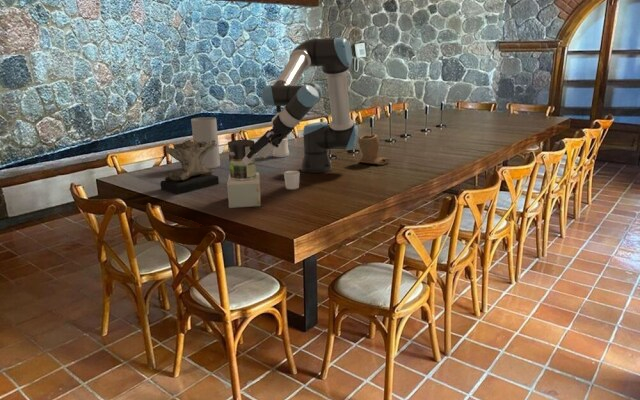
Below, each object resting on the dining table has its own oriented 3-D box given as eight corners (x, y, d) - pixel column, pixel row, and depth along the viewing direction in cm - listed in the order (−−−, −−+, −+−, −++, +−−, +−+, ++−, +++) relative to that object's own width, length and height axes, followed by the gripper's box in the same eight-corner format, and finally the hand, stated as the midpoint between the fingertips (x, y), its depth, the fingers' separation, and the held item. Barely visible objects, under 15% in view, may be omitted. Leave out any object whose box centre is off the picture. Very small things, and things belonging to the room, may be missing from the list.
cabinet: (260, 195, 209) (259, 171, 206) (260, 207, 193) (259, 182, 190) (231, 197, 208) (229, 173, 205) (228, 209, 192) (226, 183, 189)
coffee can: (234, 181, 192) (231, 145, 187) (227, 176, 201) (224, 141, 196) (260, 178, 196) (258, 142, 192) (252, 173, 205) (249, 138, 201)
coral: (207, 178, 240) (203, 133, 234) (233, 185, 226) (229, 137, 220) (160, 189, 223) (154, 141, 217) (185, 197, 209) (179, 146, 203)
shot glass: (300, 185, 223) (299, 169, 221) (300, 189, 216) (299, 173, 214) (284, 185, 223) (284, 170, 221) (284, 190, 216) (283, 174, 214)
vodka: (269, 156, 286) (266, 102, 277) (283, 153, 291) (280, 101, 283) (279, 158, 279) (276, 103, 270) (292, 156, 284) (290, 102, 276)
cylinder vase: (214, 169, 257) (210, 120, 249) (191, 169, 259) (186, 120, 252) (223, 164, 268) (219, 117, 261) (202, 163, 271) (197, 117, 264)
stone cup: (353, 164, 261) (353, 135, 256) (367, 160, 269) (367, 132, 265) (378, 167, 251) (378, 138, 247) (391, 163, 260) (391, 134, 256)
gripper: (277, 133, 172) (242, 173, 183) (307, 123, 194) (275, 159, 204) (262, 118, 173) (229, 158, 183) (295, 109, 195) (263, 146, 205)
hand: (253, 159), depth 194 cm, fingers open, 13 cm apart
